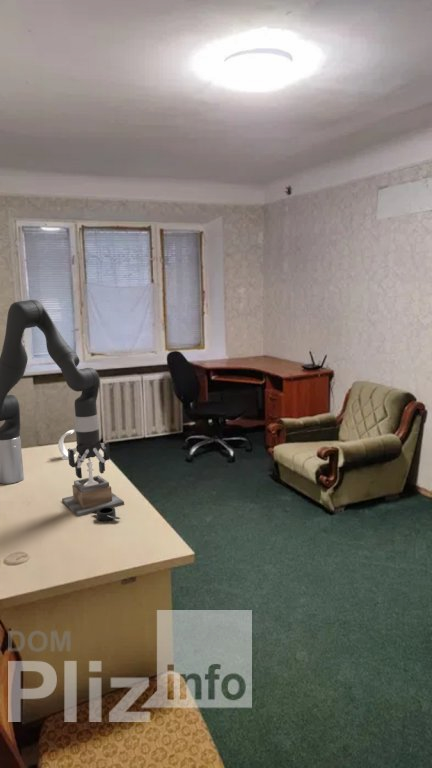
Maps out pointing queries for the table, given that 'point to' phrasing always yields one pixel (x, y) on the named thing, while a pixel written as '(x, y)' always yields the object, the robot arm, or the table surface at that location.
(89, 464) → the chess piece
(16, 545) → the table surface
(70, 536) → the table surface
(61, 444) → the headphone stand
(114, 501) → the pedestal
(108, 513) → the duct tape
